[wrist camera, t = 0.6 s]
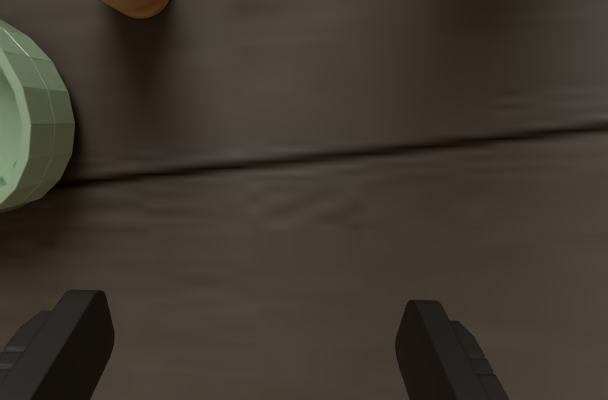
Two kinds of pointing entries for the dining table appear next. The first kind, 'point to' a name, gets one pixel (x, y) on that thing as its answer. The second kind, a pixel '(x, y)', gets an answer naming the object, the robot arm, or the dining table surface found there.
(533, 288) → the dining table surface
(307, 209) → the dining table surface
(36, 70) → the serving bowl
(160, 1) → the pepper mill
